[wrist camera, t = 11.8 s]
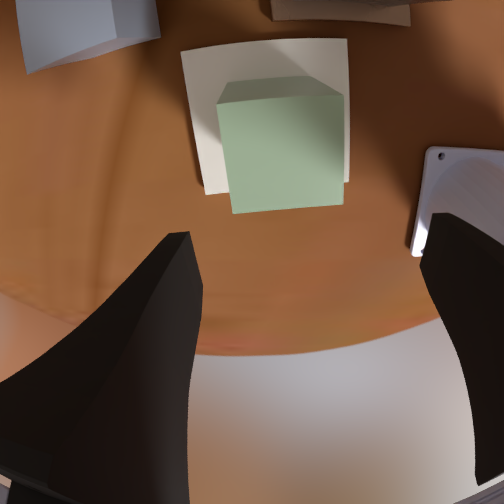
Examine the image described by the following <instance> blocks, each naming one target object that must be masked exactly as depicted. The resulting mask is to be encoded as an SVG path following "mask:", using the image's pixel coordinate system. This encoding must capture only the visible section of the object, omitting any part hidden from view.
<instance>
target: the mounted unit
mask: <svg viewBox="0 0 504 504" xmlns="http://www.w3.org/2000/svg"><path fill="white" fill-rule="evenodd" d="M436 1H450V0H270V8H271V17H272V22H273V21H295V20H332V21H354V22H368V23H378V24H387V25H396V26H403V27H411V20H410V7H409V4H415V3H424V2H436Z"/></svg>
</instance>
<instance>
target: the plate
mask: <svg viewBox="0 0 504 504" xmlns="http://www.w3.org/2000/svg"><path fill="white" fill-rule="evenodd" d="M181 58H182V64H183V71H184V77H185V83H186V89H187V95H188V101H189V106H190V112H191V118H192V123H193V129H194V135H195V140H196V146H197V151H198V156H199V162H200V167H201V172H202V177H203V183H204V188H205V193H206V195H209V194H217V193H226V192H229V186H228V180H227V173H226V167H225V160H224V154H223V147H222V140H221V134H220V127H219V121H218V114H217V107H216V104H217V102H218V100H219V98H220V96H221V94H222V92H223V90H224V88H225V86H226V84H227V82H235V81H243V80H253V79H264V78H277V77H293V76H311V77H313V78H315V79H317V80H318V81H320V82H322V83H324V84H326V85H327V86H329V87H331V88H332V89H334V90H336V91H338V92H339V93H341V94H343V95H344V134H345V139H344V182H349V156H350V101H349V69H348V50H347V39H341V38H298V39H276V40H262V41H251V42H241V43H233V44H225V45H218V46H211V47H205V48H199V49H193V50H187V51H182V52H181Z"/></svg>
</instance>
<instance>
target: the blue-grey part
mask: <svg viewBox="0 0 504 504" xmlns="http://www.w3.org/2000/svg"><path fill="white" fill-rule="evenodd" d="M16 10H17V18H18V26H19V33H20V39H21V45H22V51H23V57H24V62H25V67H26V72H27V75H28V74H31V73H34V72H38V71H41V70H45V69H48V68H52V67H56V66H60V65H64V64H68V63H72V62H76V61H81V60H85V59H90V58H94V57H97V56H99V55H102V54H105V53H108V52H111V51H114V50H118V49H121V48H124V47H128V46H131V45H134V44H138V43H142V42H145V41H149V40H153V39H157V38H161V33H160V27H159V21H158V14H157V8H156V1H155V0H16Z"/></svg>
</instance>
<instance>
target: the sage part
mask: <svg viewBox="0 0 504 504" xmlns="http://www.w3.org/2000/svg"><path fill="white" fill-rule="evenodd" d="M216 107H217V114H218V121H219V127H220V134H221V140H222V147H223V154H224V160H225V167H226V173H227V180H228V186H229V192H230V199H231V205H232V211H233V214H238V213H248V212H258V211H269V210H279V209H291V208H302V207H315V206H327V205H341V204H343V192H344V139H345V134H344V95H343V94H341V93H339V92H338V91H336V90H334V89H332V88H331V87H329V86H327V85H326V84H324V83H322V82H320V81H318V80H317V79H315V78H313V77H311V76H293V77H277V78H264V79H253V80H243V81H235V82H227V84H226V86H225V88H224V90H223V92H222V94H221V96H220V98H219V100H218V102H217V104H216Z"/></svg>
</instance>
